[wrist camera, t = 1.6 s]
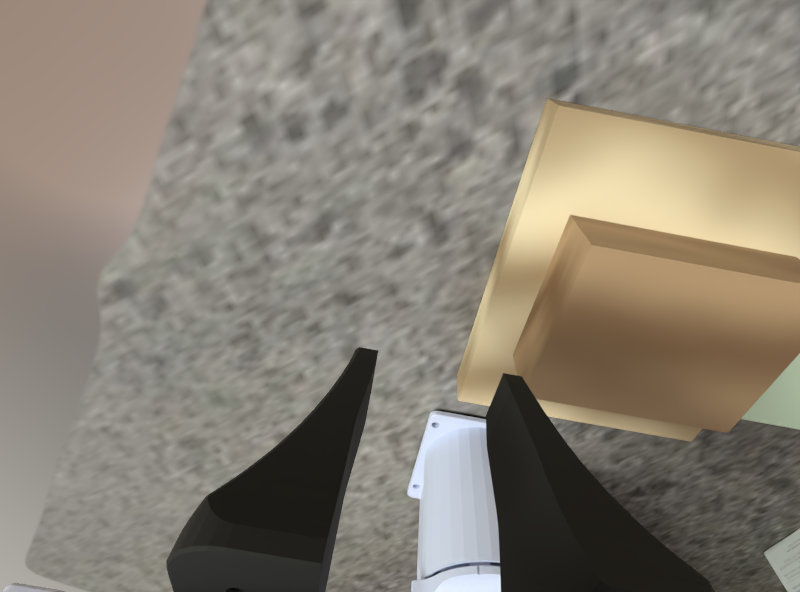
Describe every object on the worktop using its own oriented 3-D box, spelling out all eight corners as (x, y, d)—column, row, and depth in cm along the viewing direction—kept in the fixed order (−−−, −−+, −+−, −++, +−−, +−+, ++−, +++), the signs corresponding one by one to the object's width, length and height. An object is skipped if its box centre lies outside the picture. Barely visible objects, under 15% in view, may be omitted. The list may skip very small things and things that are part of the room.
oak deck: (675, 415, 26) (691, 441, 25) (456, 376, 26) (457, 400, 24) (871, 160, 18) (916, 174, 16) (547, 98, 17) (558, 105, 16)
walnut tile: (695, 387, 22) (727, 432, 20) (512, 354, 22) (522, 396, 20) (795, 256, 18) (853, 293, 16) (570, 214, 18) (591, 245, 15)
